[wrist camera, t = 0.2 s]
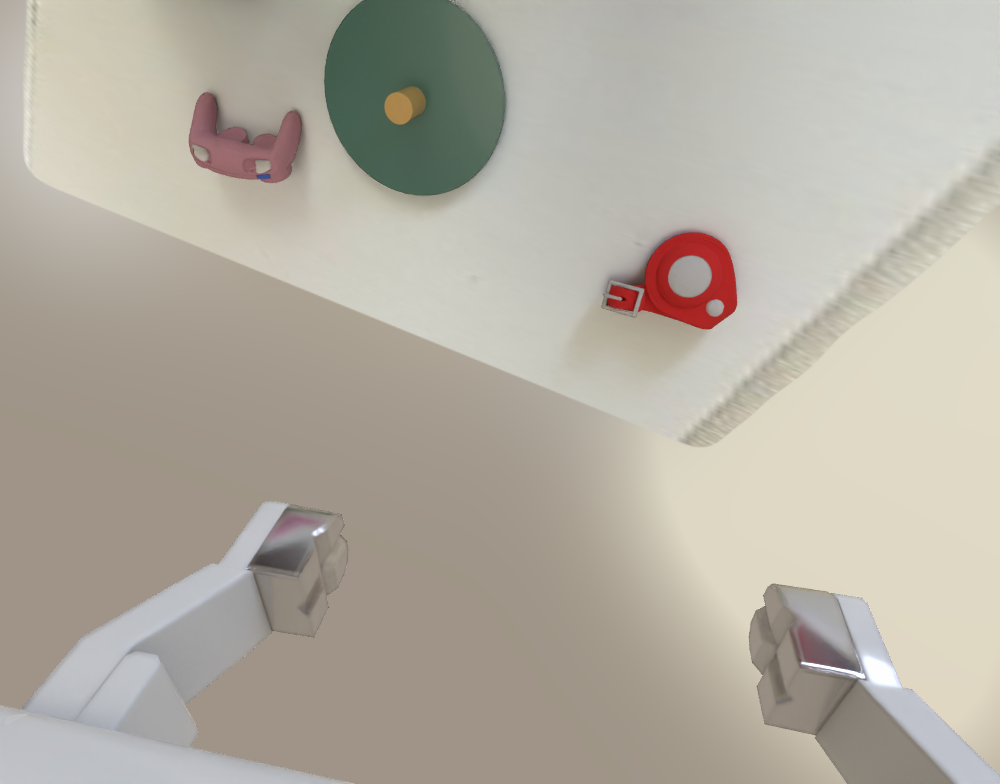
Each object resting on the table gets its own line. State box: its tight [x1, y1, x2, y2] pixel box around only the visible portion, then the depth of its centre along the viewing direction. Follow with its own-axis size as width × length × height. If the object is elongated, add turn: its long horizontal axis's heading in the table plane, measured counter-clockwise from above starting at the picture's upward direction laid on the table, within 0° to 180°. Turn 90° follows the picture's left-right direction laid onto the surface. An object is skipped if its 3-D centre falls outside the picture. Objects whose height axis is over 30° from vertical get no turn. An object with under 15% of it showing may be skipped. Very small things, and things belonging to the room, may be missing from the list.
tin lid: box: [324, 0, 505, 196], centre depth 49 cm, size 16×16×5 cm
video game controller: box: [189, 92, 301, 183], centre depth 53 cm, size 10×5×7 cm, turn 81°
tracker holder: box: [601, 233, 737, 329], centre depth 56 cm, size 12×4×10 cm
